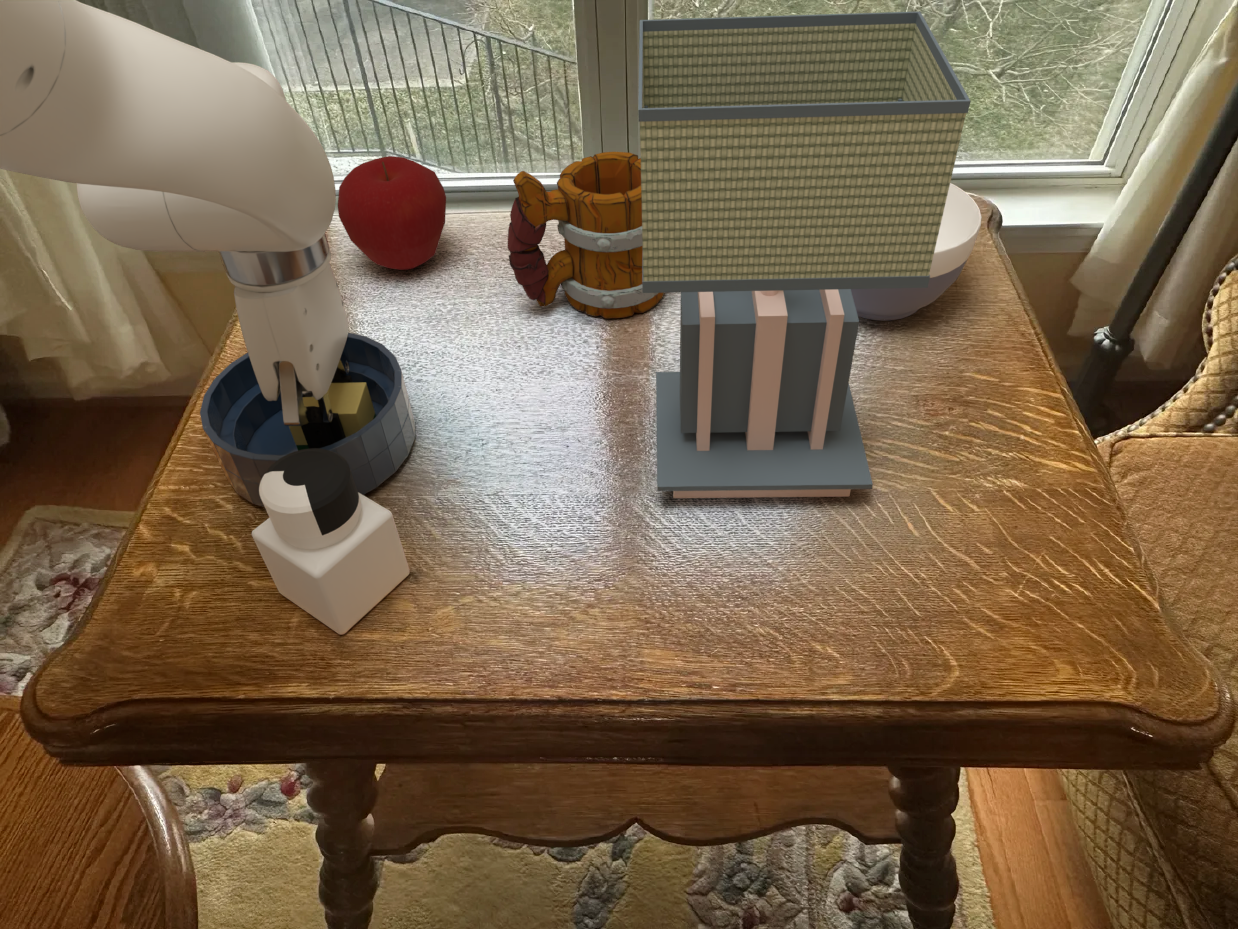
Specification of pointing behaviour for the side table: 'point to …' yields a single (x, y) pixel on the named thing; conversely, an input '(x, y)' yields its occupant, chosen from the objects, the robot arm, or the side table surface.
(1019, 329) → the side table surface
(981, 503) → the side table surface
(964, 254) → the bowl
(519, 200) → the mug
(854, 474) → the desk lamp
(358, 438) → the bowl
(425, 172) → the apple
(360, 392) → the sponge
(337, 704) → the side table surface
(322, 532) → the medicine bottle
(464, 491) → the side table surface
